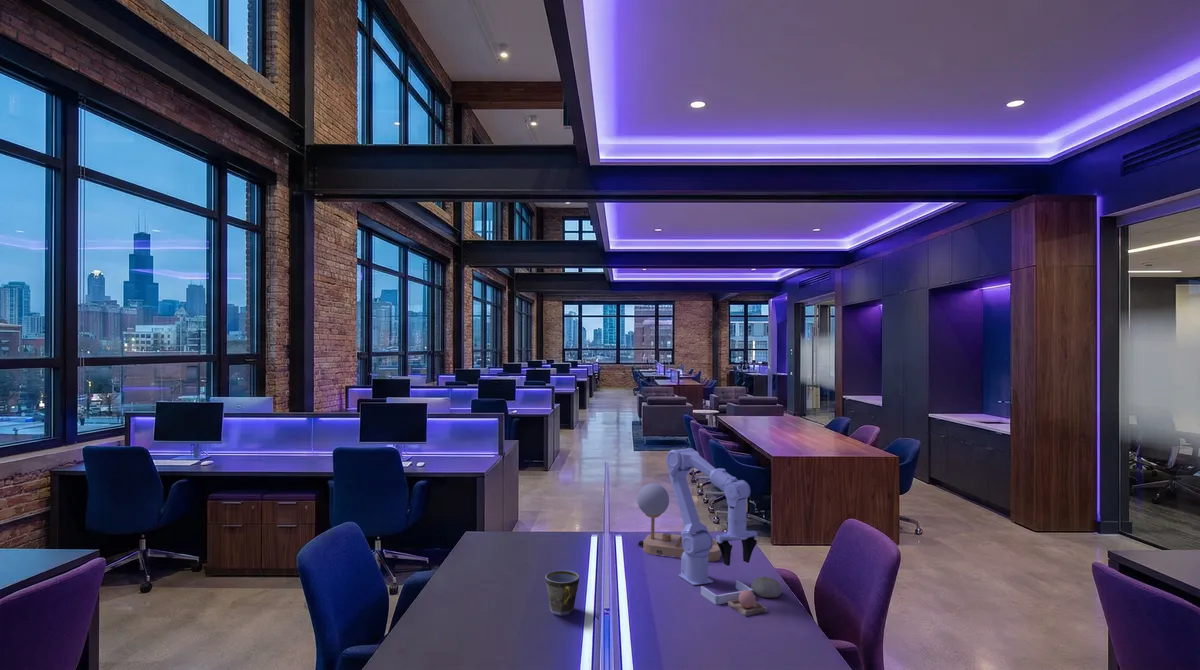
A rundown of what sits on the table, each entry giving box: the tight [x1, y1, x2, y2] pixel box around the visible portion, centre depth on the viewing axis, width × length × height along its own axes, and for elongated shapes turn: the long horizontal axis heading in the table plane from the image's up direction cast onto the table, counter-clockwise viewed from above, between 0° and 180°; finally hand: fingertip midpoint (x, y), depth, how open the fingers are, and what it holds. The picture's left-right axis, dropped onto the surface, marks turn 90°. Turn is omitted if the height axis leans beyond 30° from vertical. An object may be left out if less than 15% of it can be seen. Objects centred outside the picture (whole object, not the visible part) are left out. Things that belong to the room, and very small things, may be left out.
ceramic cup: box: [544, 569, 580, 616], centre depth 171 cm, size 13×10×10 cm
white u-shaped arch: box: [700, 579, 755, 605], centre depth 185 cm, size 8×14×2 cm, turn 114°
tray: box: [727, 599, 767, 617], centre depth 176 cm, size 8×8×1 cm
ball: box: [739, 590, 757, 608], centre depth 176 cm, size 5×5×5 cm
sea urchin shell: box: [750, 576, 782, 599], centre depth 188 cm, size 9×8×8 cm
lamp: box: [636, 482, 722, 562], centre depth 229 cm, size 33×17×25 cm, turn 74°
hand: (736, 563), depth 185 cm, fingers open, 7 cm apart
